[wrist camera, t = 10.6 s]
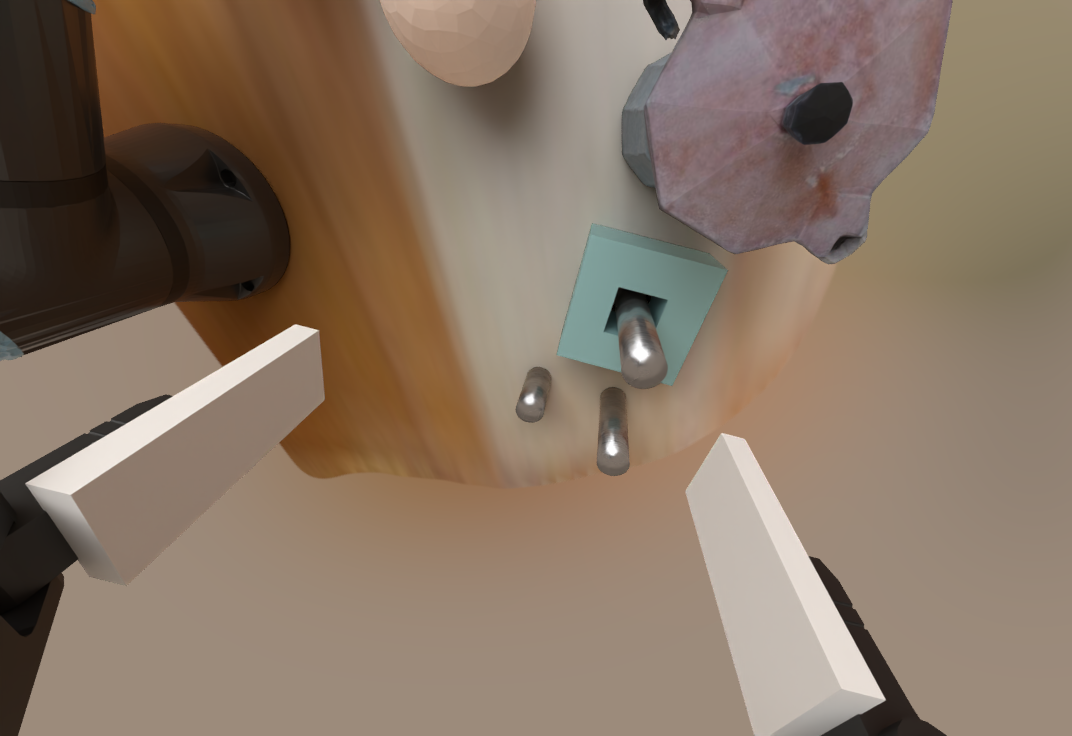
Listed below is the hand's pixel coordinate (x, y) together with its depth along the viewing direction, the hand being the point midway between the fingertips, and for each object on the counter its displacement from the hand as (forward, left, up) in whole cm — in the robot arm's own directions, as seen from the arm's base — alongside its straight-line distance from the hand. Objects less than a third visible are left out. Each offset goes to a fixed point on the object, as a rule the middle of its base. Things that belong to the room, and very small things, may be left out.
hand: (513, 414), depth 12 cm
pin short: (0, -13, -24) cm, 27 cm away
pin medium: (+8, -13, -24) cm, 29 cm away
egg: (-10, +14, -24) cm, 30 cm away
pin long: (+6, -2, -24) cm, 25 cm away
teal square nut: (+6, -2, -24) cm, 25 cm away
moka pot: (+5, +11, -24) cm, 27 cm away
